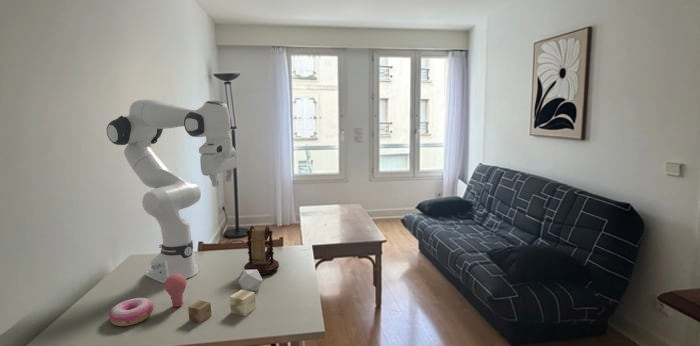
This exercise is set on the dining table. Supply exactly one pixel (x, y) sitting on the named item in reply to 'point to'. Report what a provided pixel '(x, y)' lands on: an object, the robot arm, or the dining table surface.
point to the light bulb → (176, 288)
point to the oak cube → (242, 302)
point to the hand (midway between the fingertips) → (222, 183)
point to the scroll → (260, 251)
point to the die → (250, 280)
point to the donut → (131, 311)
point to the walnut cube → (199, 311)
